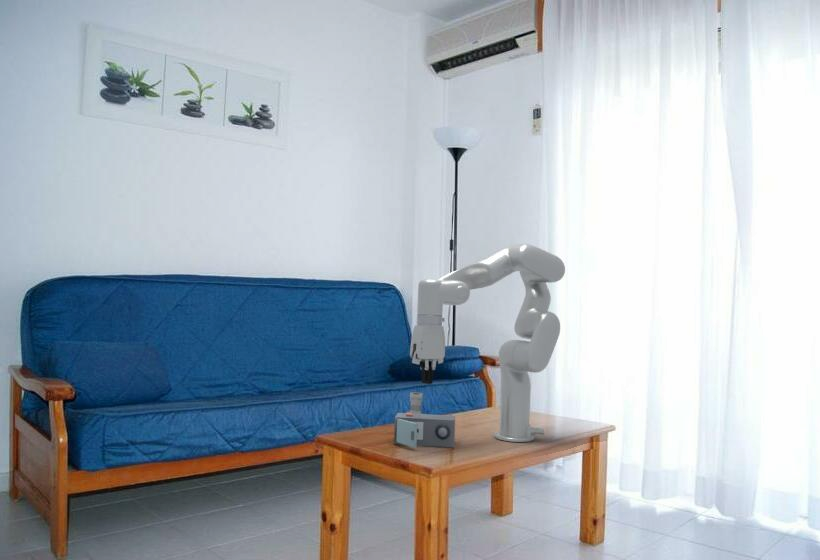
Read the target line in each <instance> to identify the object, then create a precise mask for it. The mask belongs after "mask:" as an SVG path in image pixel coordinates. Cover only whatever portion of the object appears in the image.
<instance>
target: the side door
mask: <svg viewBox="0 0 820 560" xmlns="http://www.w3.org/2000/svg"><path fill="white" fill-rule="evenodd" d="M396 442H398V443H401V444H404V445H405V446H407V447H410V448H417V445H416V443H417V423H414V422H410V421H406V420H402V419H397V437H396ZM401 444H400V445H401ZM404 445H403V446H404Z"/></svg>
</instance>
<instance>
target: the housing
mask: <svg viewBox="0 0 820 560" xmlns="http://www.w3.org/2000/svg"><path fill="white" fill-rule="evenodd" d="M397 419H402V420H406V421H410V422H414V423H417V443H416V446H420V447H421V446H422V447H437V448H438V447H439V448H455V440H456V439H455V436H456V415H446V414H429V413H428V414H427V413H422V414H412V413H406V412H396V415H395V417H394V429H393V445H403V446H404V444H401V443H398V442H396V437H397Z"/></svg>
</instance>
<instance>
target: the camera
mask: <svg viewBox="0 0 820 560" xmlns="http://www.w3.org/2000/svg"><path fill="white" fill-rule="evenodd" d="M423 395H424V393H423V392H415V391H414V392H413V391H412V392H409V401H410V408H409V409H410V410H409V411H406V412H405V413H412V414H423V413H422V402H423Z"/></svg>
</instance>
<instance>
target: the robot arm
mask: <svg viewBox="0 0 820 560" xmlns="http://www.w3.org/2000/svg"><path fill="white" fill-rule="evenodd" d="M515 272H519V274H520V277H521V280H522V282H523V284H524V285H523V286H524V289H525V296H524V298H523V302H522V304H521V306H520V308H519V309H520V310H519V312H518V314H517V317H516V319H515V323H514V328H513V329H514V332H515V334H516V336H518V337H520V338H522V339H525V340H520V339H510V340H508V341H505V342H504V343H502V345H501V346H500V348H499V350H498V361H499V367H500V369H499V370H500V397H499V398H500V399H499V401H500V404H499V430H498V431H495V432H494V435H493V436H494V438H495V439H497V440H501V441H505V442H514V443H526V442H527V443H528V442H532V441H534V439H535V435H539V436H540V435H543V436H544V434H545V429H544V428H539V427H534V426H531V423H530V413H531V411H530V410H531V385H532V383H531V379H530V375H529V373H533V374H534V373H540V372H541V373H542V372H543V371H544V370H545V369H546V368H547V367H548V364H549V362H551V361H550V360H551V358H552V356H553V352H554V350H555V347H556V345H557V342H558V339H559V337H560V333H561V320H560V319H559V317H558V316H557V315H556V314H555V313H554V312H553V311H549V309H550V305H551V301H552V300H551V299H552V298H551V293H550V290H549V287H548V283H551V284H552V283H556V282H559V281H561V280H562V279H563V277H564V276H565V273H566V266H565V263H564V262H563V260H562V259H561V258H560V257H559V256H557V255H555V254H554V253H551V252H548V251H546V250H545V249H542V248H540V247H537V246H535V245H532V244H527V243H524V244H523V243H522V244H511V245H510V244H509V245H506V246H504V247H501V249H498V250H496V251H494V252H493V253H491V254H490V255H488V256H486V257H484V258H482V259H481V260H479V261H476V262H474V263H471V264H469V265H467V266H464V267H461V268H459V269H457V270H454V271H452V272H449V273H447V274H446V275H444V276H441V277H440V278H438V279H421V280H420V281H419V282H418V287H417V288H418V289H417V310H416V311H417V313H416V324H415V325H414V326H413V329H412V333H411V340H410V347H409V349H410V350H409V357H410V358H411V359H412V360H411V363H412V364H416V365H418V367H419V368H420V370H421V384H425V385H433V382H434V381H433V380H434V371H435V370H436V367H437V366H438V365H439V364H443V363H444V358H445V354H446V336H445V335H446V334H445V329H444V326H443V323H444V322H445V317H443V315H444V314H443V310H444V309H443V308H444V306H445V305H446V306H448V305H449V306H460V305H463V304H465V303H467V302H468V300H469V299H470V296H471V291H472V290H477V289H483V288H487V287H489V286H490V287H491V286H492V285H494V284H497V282H500V281H502V280H503V279H505V278H507V277H508V276H510V275H512V274H514V273H515ZM527 340H530V341H527ZM528 372H529V373H528Z"/></svg>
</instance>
